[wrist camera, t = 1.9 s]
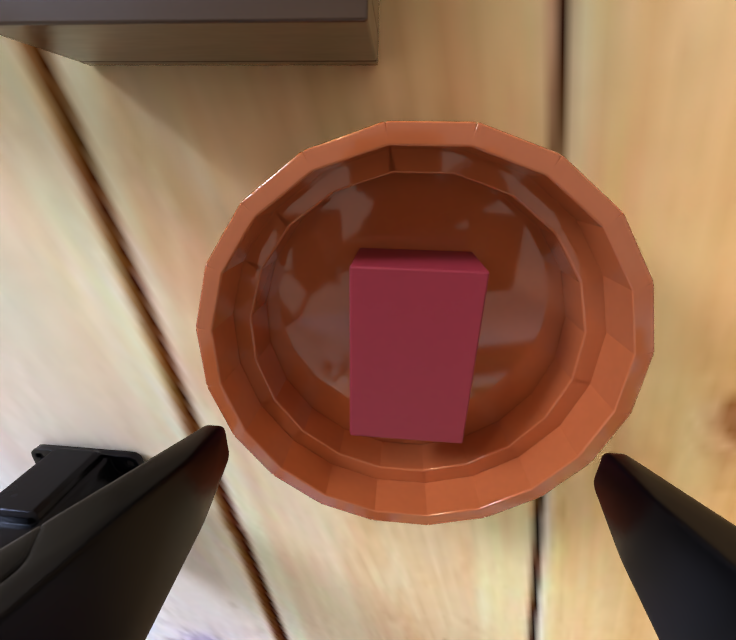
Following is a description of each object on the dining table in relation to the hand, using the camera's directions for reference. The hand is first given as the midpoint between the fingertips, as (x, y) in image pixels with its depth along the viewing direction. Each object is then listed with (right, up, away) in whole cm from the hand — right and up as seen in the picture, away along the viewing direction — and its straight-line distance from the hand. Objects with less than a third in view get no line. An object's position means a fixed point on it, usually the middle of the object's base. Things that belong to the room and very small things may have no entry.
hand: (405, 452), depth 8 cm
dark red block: (+1, +3, +7) cm, 8 cm away
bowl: (+1, +3, +7) cm, 8 cm away
